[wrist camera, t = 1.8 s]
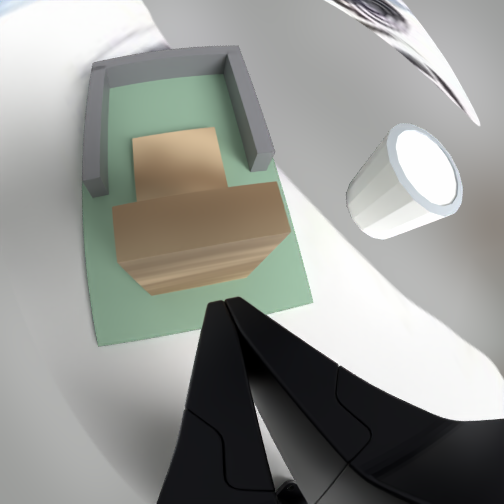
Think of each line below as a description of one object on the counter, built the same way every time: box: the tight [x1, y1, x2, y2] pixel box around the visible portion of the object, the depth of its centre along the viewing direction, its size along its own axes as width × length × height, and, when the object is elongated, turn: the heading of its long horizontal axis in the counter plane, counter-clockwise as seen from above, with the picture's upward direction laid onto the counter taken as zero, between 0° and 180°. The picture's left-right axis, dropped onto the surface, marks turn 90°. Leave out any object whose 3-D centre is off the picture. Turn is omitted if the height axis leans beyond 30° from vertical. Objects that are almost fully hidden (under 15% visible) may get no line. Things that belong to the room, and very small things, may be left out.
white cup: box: [346, 124, 463, 239], centre depth 20 cm, size 7×7×7 cm
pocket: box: [82, 46, 275, 198], centre depth 20 cm, size 12×12×2 cm
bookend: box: [112, 127, 291, 296], centre depth 15 cm, size 11×6×9 cm, turn 13°
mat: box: [82, 74, 313, 347], centre depth 20 cm, size 22×14×1 cm, turn 13°
